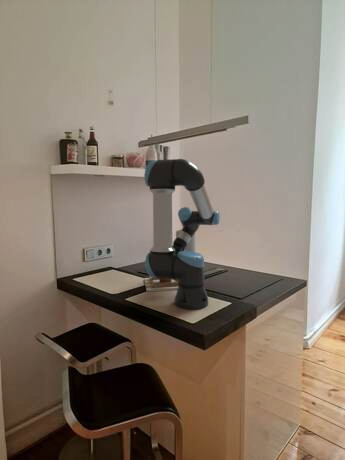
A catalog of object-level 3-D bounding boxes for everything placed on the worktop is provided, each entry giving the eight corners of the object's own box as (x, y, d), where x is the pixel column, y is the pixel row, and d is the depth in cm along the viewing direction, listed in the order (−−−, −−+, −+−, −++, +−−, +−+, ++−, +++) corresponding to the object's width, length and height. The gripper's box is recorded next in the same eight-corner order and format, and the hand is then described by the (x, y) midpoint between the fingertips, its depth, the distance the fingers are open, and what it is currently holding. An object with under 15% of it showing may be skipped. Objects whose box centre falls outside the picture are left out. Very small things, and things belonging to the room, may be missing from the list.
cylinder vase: (187, 265, 215) (187, 229, 212) (199, 268, 204) (198, 231, 201) (172, 267, 208) (172, 230, 205) (183, 271, 198) (183, 232, 195)
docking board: (188, 289, 161) (188, 283, 161) (146, 291, 158) (146, 285, 158) (181, 277, 183) (181, 272, 182) (144, 279, 179) (144, 274, 179)
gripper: (199, 247, 169) (178, 280, 161) (172, 242, 186) (152, 272, 178) (192, 238, 165) (170, 272, 157) (165, 235, 182) (144, 265, 174)
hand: (160, 272), depth 167 cm, fingers open, 10 cm apart
